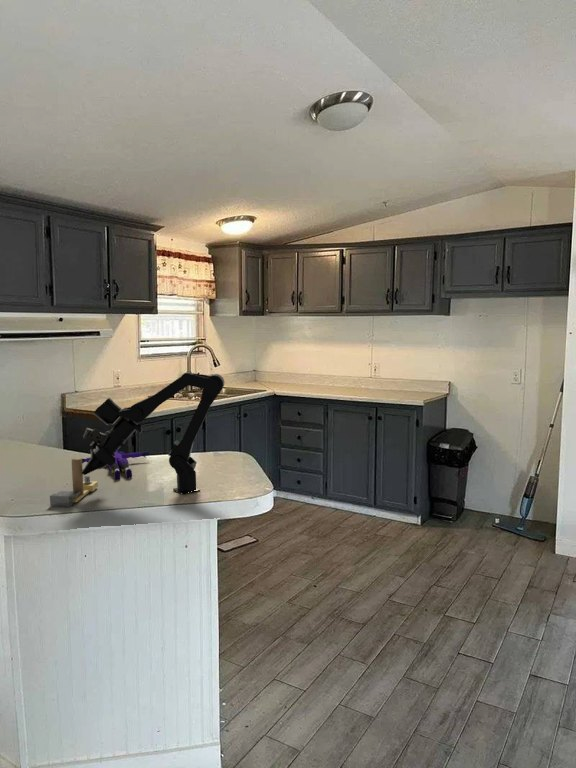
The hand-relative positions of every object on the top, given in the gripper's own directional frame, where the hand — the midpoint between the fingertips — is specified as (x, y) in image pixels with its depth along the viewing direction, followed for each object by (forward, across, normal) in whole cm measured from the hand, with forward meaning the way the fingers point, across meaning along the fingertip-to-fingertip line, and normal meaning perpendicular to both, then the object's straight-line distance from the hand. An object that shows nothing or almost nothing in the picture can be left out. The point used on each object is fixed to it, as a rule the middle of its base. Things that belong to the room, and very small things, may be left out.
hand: (83, 474), depth 171 cm
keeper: (+9, +3, +2) cm, 10 cm away
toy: (-5, -33, +15) cm, 36 cm away
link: (+5, -3, +5) cm, 8 cm away
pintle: (+4, -8, +6) cm, 11 cm away
